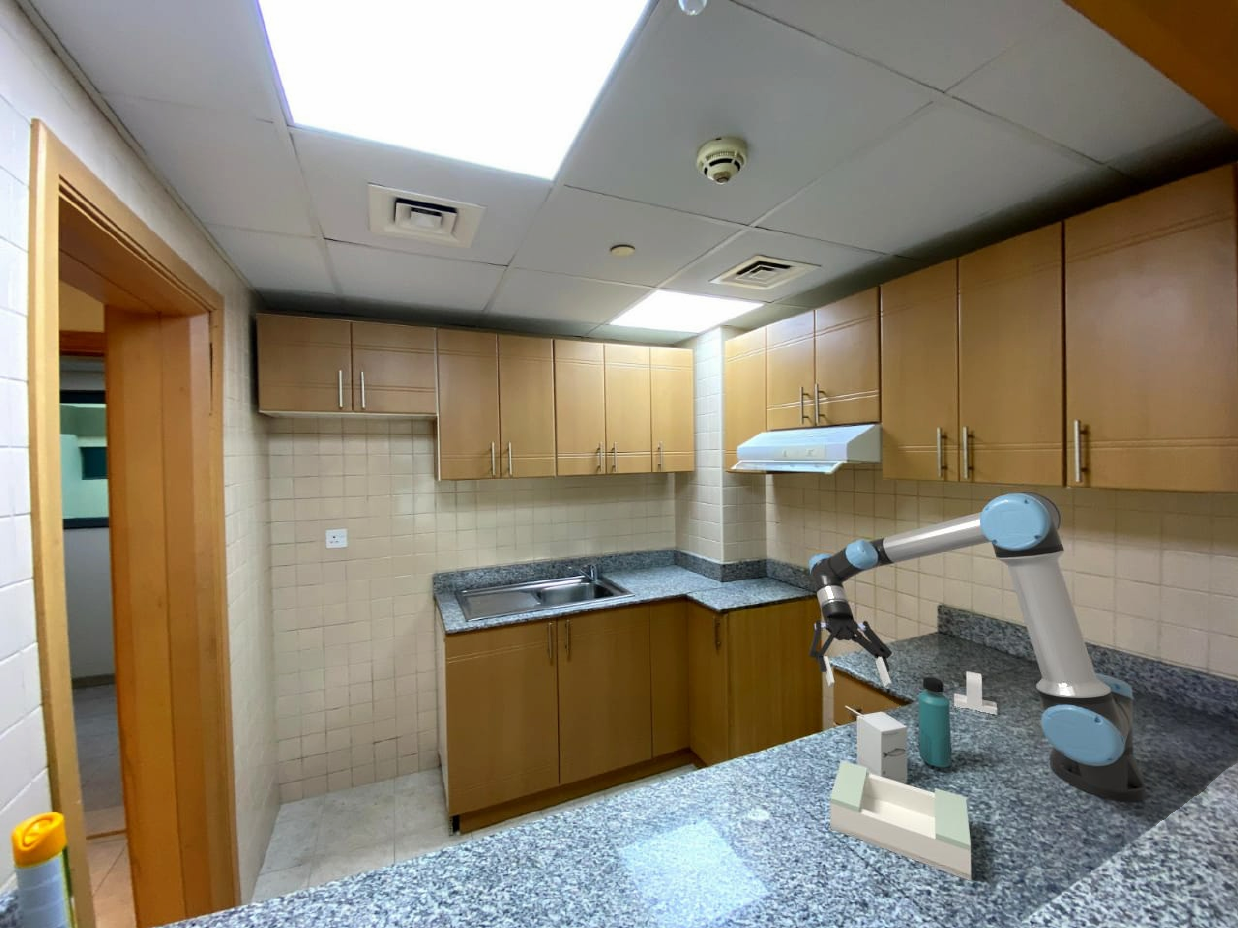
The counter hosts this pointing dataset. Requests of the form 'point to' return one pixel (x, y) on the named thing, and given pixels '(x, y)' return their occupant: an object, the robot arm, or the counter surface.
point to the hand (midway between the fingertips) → (859, 684)
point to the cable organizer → (974, 696)
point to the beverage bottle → (934, 724)
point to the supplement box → (882, 746)
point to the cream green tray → (902, 819)
